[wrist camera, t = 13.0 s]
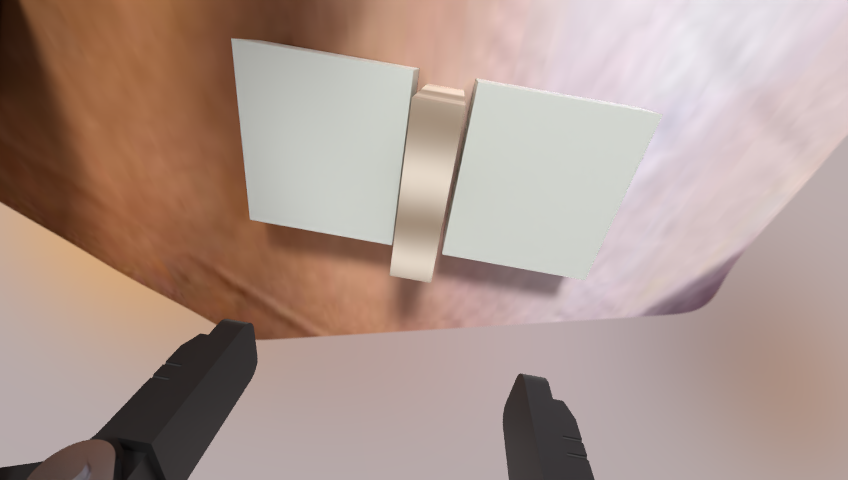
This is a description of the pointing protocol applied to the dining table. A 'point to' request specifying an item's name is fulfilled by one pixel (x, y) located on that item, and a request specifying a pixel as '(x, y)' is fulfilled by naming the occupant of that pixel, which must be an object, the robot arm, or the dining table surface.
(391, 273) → the beige metallic bar
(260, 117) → the slotted board
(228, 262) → the dining table surface
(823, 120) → the dining table surface
